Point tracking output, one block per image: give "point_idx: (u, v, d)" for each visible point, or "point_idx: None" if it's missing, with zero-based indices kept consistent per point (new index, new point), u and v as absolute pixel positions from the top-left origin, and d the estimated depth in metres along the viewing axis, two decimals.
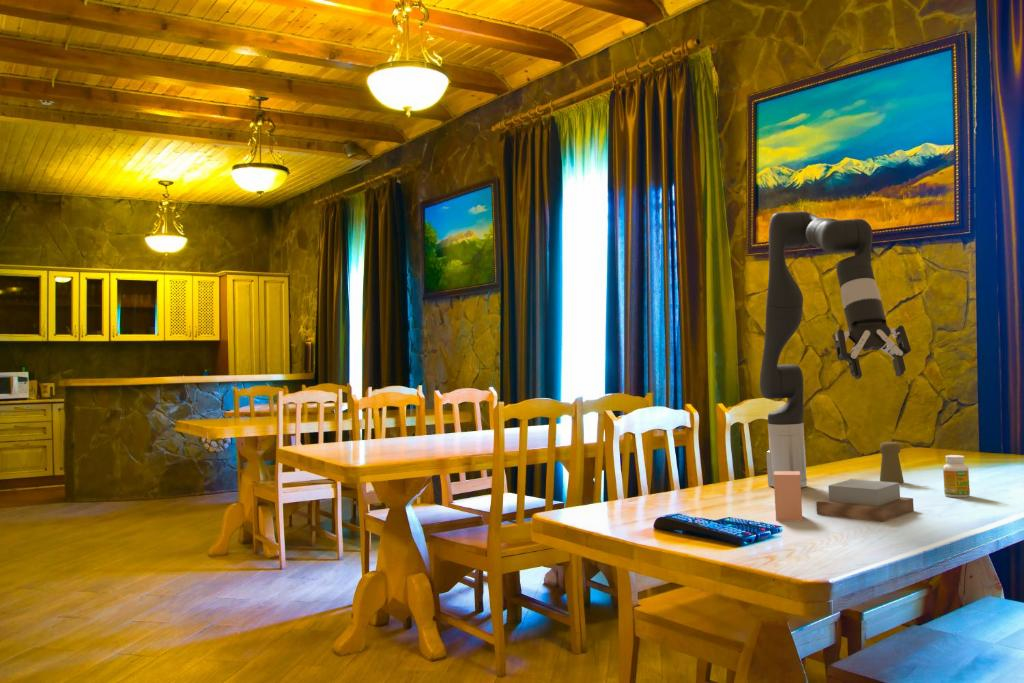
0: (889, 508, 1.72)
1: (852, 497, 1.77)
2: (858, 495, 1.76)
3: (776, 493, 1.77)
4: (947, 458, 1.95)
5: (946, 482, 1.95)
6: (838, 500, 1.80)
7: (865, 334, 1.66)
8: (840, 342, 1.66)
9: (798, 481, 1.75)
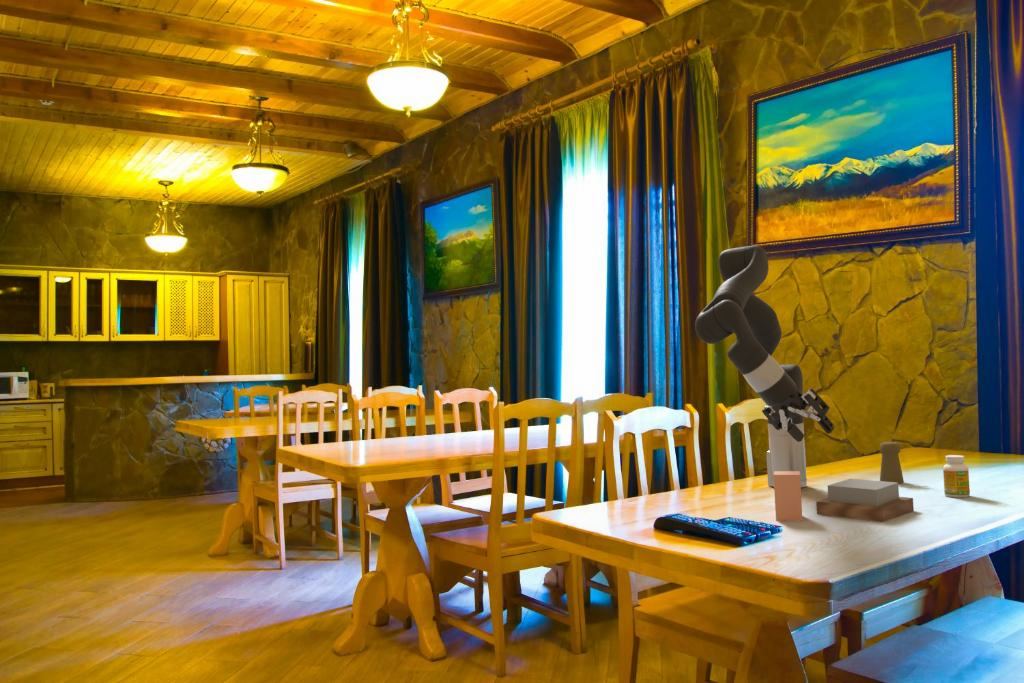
0: (889, 508, 1.72)
1: (852, 497, 1.77)
2: (857, 495, 1.76)
3: (776, 493, 1.77)
4: (947, 458, 1.95)
5: (946, 482, 1.95)
6: (837, 500, 1.80)
7: (781, 413, 1.74)
8: (769, 419, 1.79)
9: (798, 481, 1.75)
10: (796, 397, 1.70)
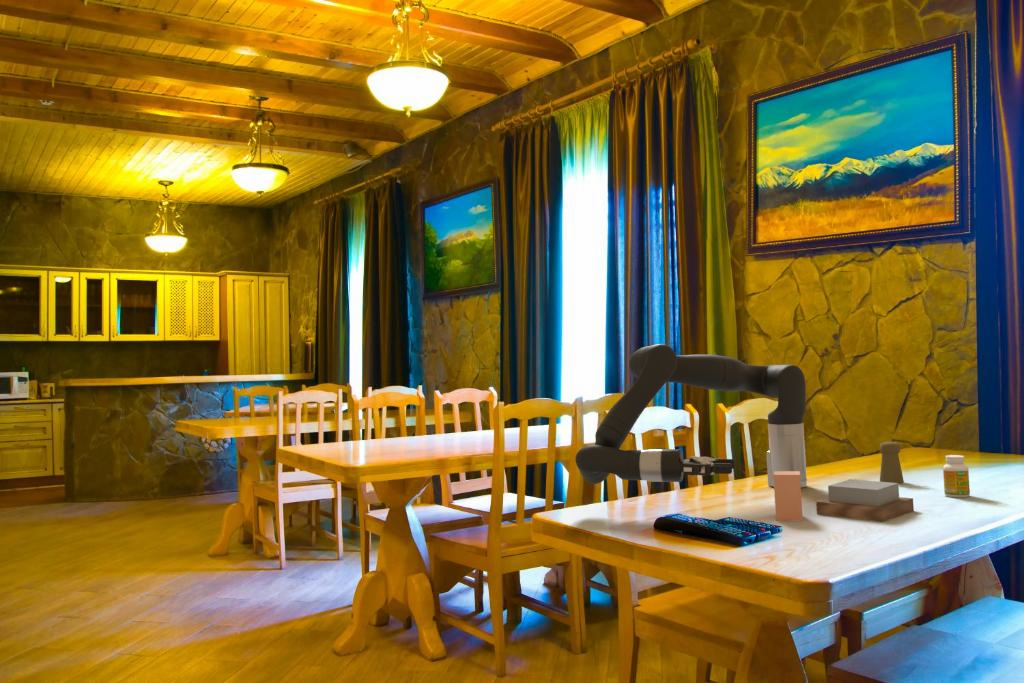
0: (889, 509, 1.73)
1: (852, 497, 1.77)
2: (858, 495, 1.76)
3: (776, 493, 1.77)
4: (947, 458, 1.95)
5: (946, 482, 1.95)
6: (838, 500, 1.80)
7: None
8: None
9: (798, 481, 1.75)
10: None
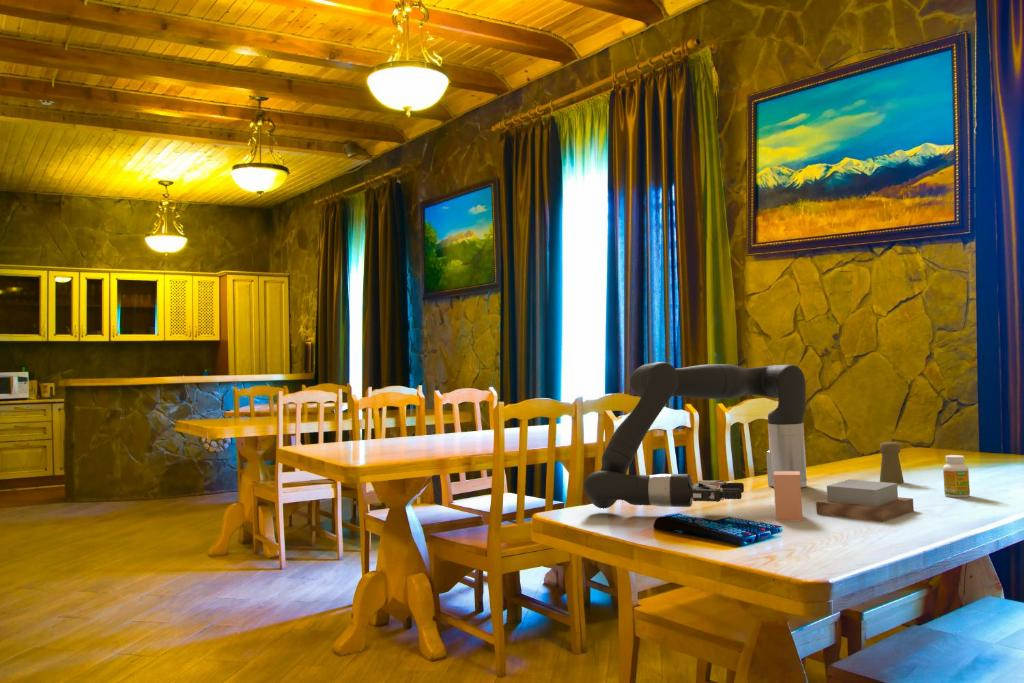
0: (889, 509, 1.73)
1: (851, 497, 1.77)
2: (857, 495, 1.76)
3: (776, 493, 1.77)
4: (947, 458, 1.95)
5: (946, 482, 1.95)
6: (836, 500, 1.80)
7: None
8: None
9: (798, 481, 1.75)
10: None
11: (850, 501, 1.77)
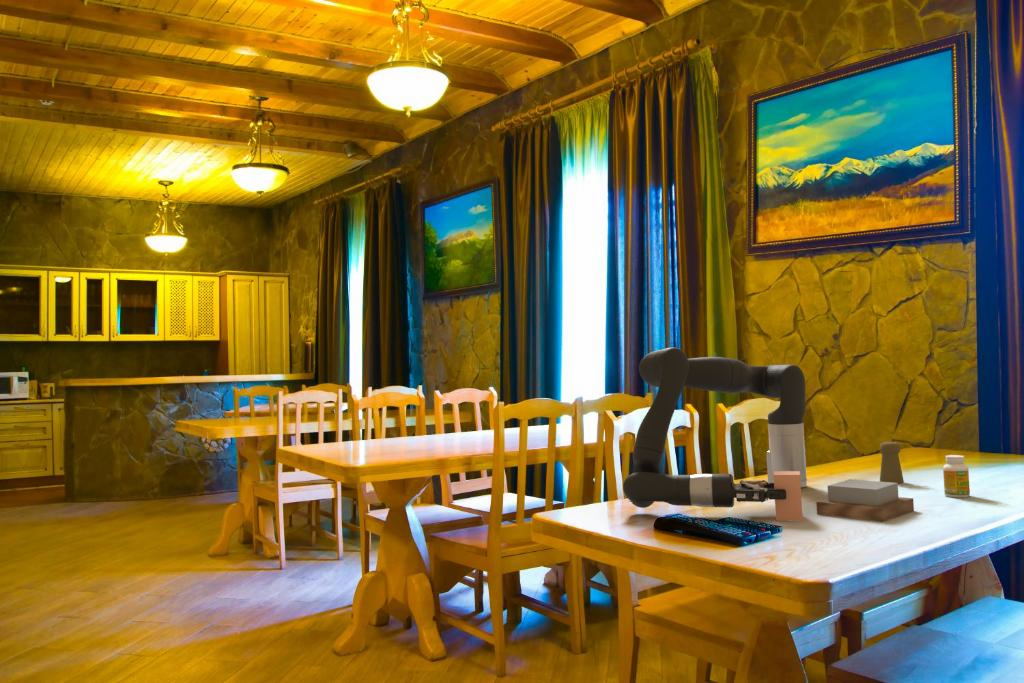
0: (889, 509, 1.73)
1: (852, 497, 1.77)
2: (857, 495, 1.77)
3: None
4: (947, 458, 1.95)
5: (946, 482, 1.95)
6: (837, 500, 1.80)
7: None
8: None
9: (798, 481, 1.75)
10: None
11: (851, 501, 1.78)
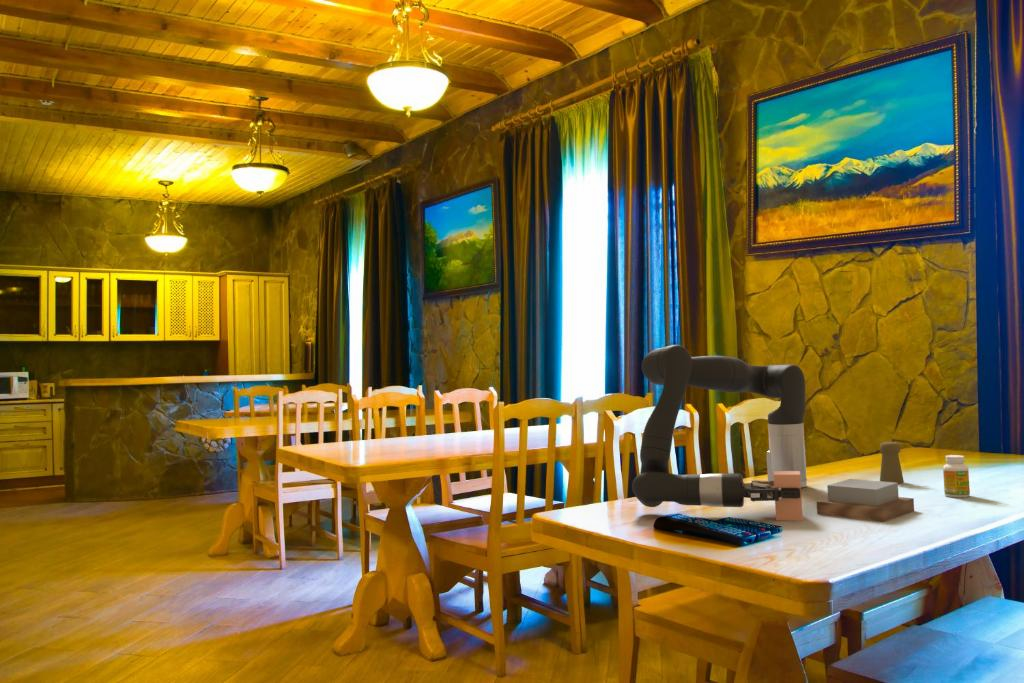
0: (890, 509, 1.72)
1: (851, 496, 1.78)
2: (857, 495, 1.77)
3: None
4: (947, 458, 1.95)
5: (946, 482, 1.95)
6: (837, 500, 1.80)
7: None
8: None
9: (798, 481, 1.75)
10: (747, 497, 1.78)
11: (850, 500, 1.78)
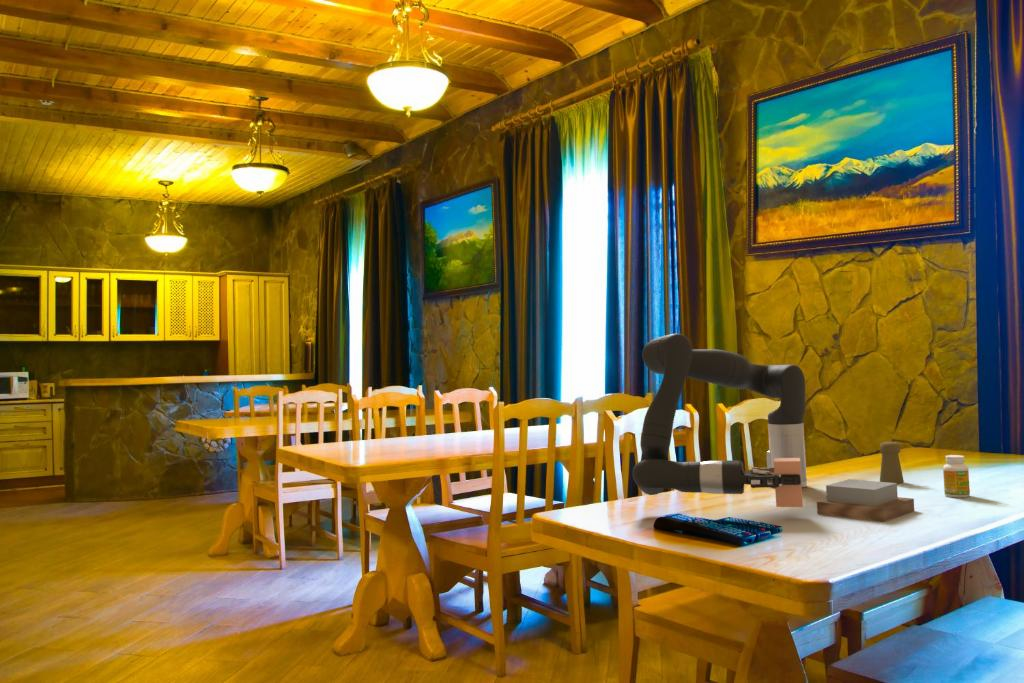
0: (890, 509, 1.72)
1: (850, 497, 1.78)
2: (855, 495, 1.77)
3: None
4: (947, 458, 1.95)
5: (946, 482, 1.95)
6: (835, 500, 1.80)
7: None
8: None
9: (798, 467, 1.76)
10: (747, 483, 1.78)
11: (849, 501, 1.78)
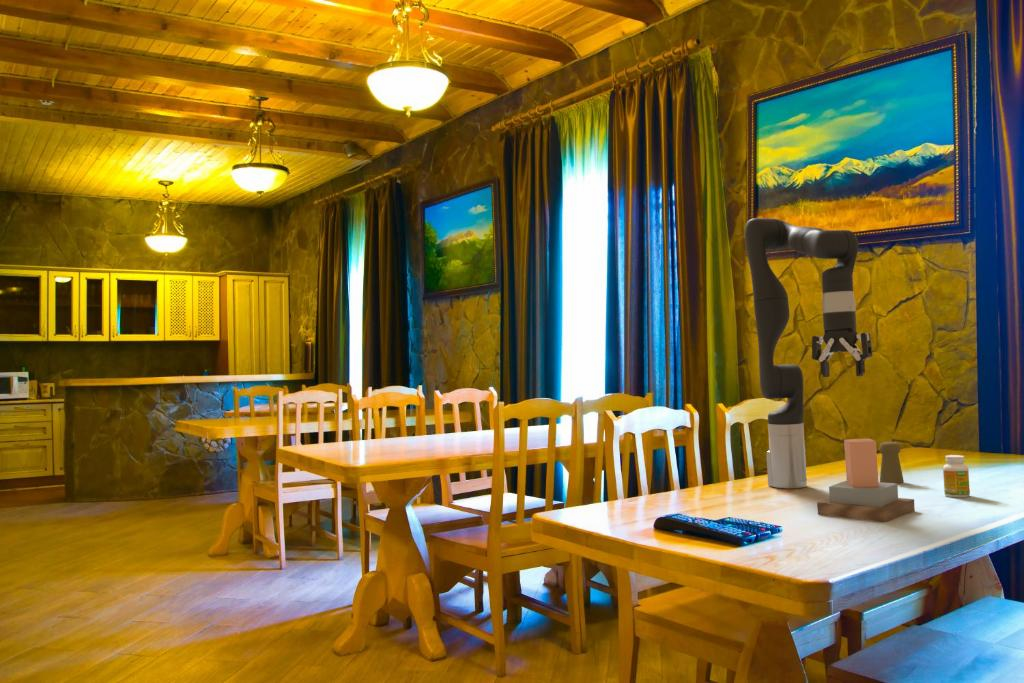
0: (891, 509, 1.72)
1: (854, 498, 1.77)
2: (860, 496, 1.76)
3: (852, 460, 1.78)
4: (947, 458, 1.95)
5: (946, 482, 1.95)
6: (839, 501, 1.79)
7: (830, 342, 1.98)
8: (812, 347, 2.02)
9: (874, 447, 1.78)
10: (853, 333, 1.95)
11: (853, 502, 1.77)
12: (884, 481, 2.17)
